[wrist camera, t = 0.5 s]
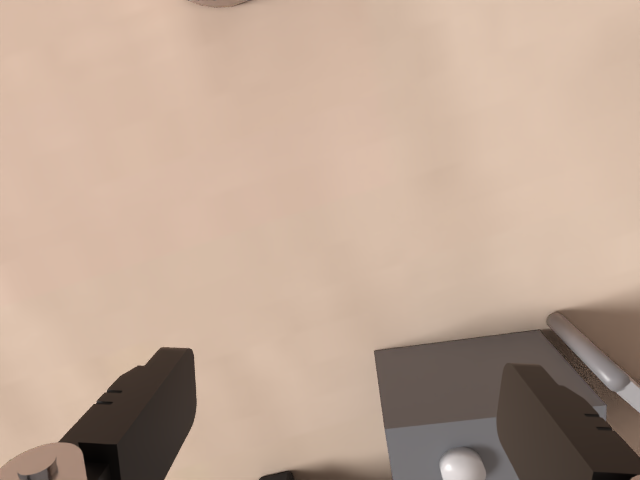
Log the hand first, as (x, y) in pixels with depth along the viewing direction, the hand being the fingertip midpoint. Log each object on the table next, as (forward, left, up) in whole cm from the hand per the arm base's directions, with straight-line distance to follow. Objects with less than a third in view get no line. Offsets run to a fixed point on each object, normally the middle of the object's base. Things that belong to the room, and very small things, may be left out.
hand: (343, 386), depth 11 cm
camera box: (+20, +7, -18) cm, 28 cm away
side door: (+14, +17, -18) cm, 29 cm away
